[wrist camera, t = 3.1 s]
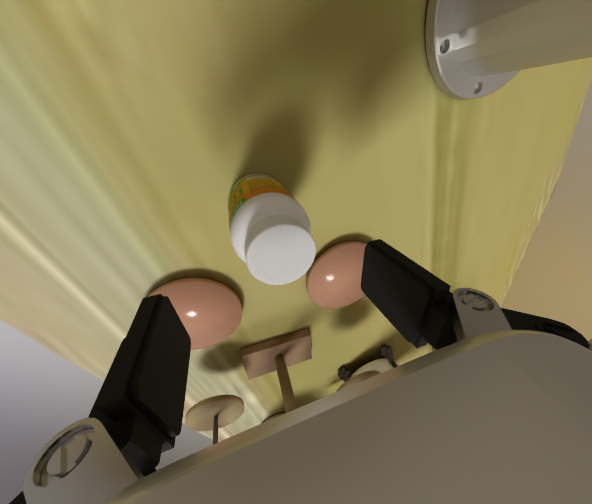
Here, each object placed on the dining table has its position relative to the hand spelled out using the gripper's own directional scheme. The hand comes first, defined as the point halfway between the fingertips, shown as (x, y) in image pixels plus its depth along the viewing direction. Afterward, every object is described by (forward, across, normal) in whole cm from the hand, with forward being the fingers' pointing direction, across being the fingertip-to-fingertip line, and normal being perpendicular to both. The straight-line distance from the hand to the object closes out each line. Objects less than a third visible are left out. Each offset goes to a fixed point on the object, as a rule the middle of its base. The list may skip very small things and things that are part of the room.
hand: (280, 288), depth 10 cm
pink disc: (+12, -10, +10) cm, 19 cm away
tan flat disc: (+12, +8, +10) cm, 18 cm away
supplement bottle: (+12, -1, -1) cm, 12 cm away
